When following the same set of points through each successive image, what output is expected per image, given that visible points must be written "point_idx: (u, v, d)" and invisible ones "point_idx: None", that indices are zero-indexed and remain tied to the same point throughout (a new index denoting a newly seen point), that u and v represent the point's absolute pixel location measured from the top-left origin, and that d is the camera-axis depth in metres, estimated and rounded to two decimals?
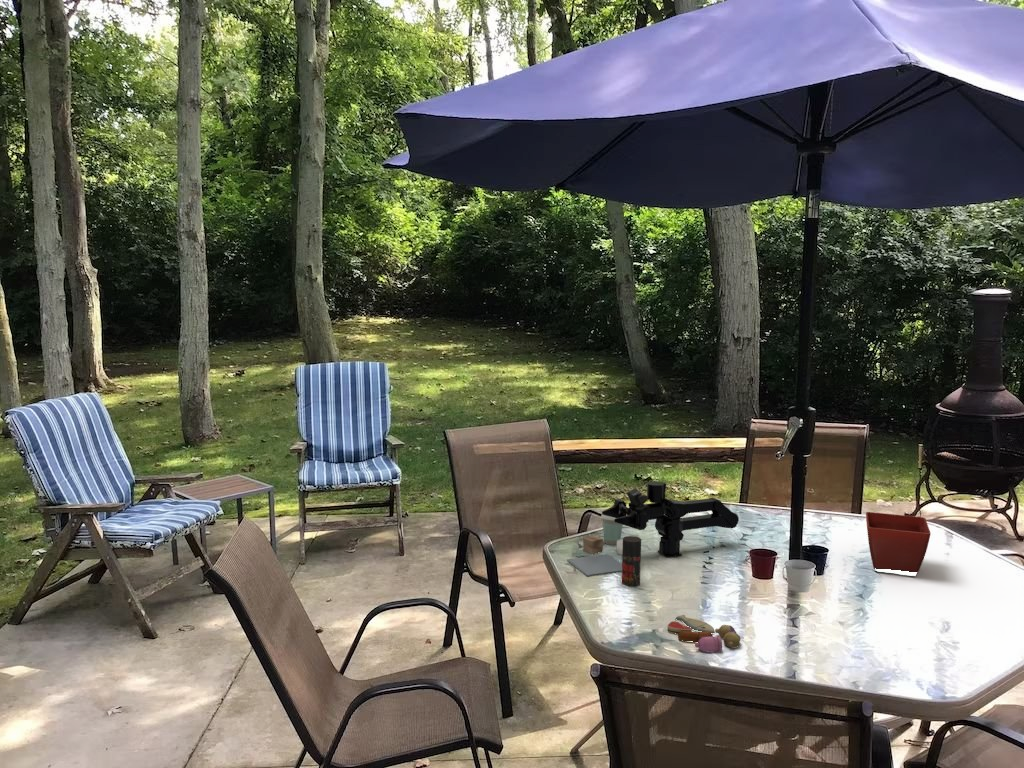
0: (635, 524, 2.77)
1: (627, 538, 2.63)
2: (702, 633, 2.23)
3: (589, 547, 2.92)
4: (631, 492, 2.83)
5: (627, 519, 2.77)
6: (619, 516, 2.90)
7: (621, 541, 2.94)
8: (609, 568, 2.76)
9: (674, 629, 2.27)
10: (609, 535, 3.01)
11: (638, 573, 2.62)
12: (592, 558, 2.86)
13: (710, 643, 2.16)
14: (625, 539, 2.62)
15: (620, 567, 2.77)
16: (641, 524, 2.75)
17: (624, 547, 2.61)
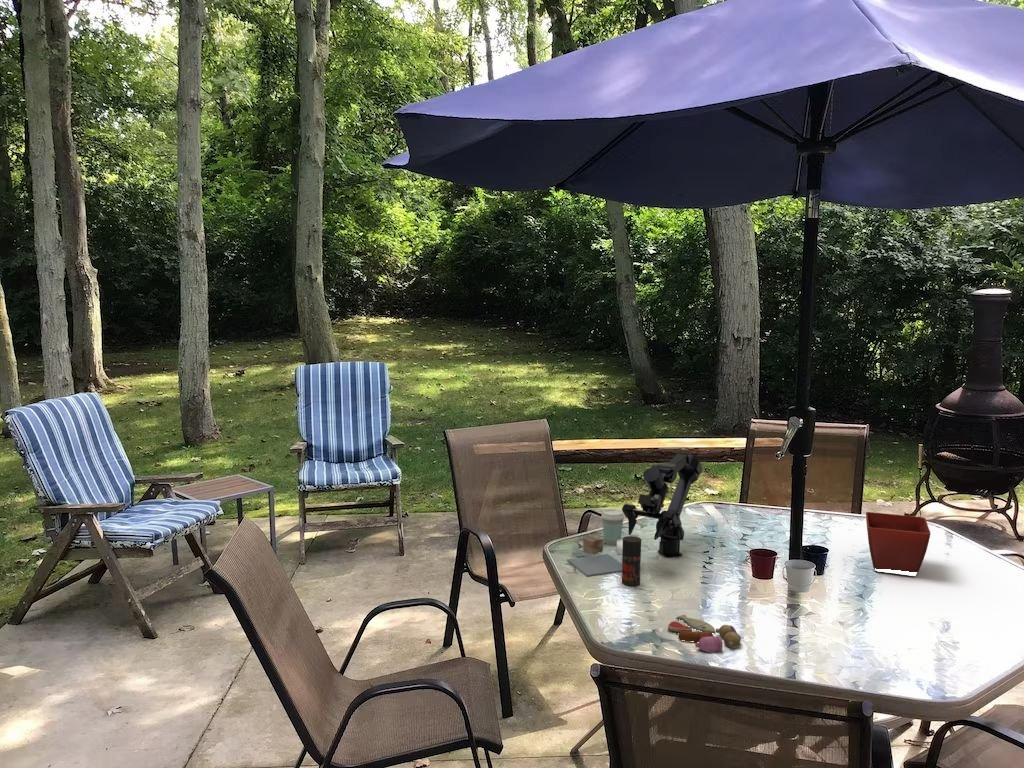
0: (669, 526, 2.70)
1: (627, 538, 2.63)
2: (702, 633, 2.23)
3: (589, 547, 2.92)
4: (643, 501, 2.69)
5: (661, 528, 2.68)
6: (635, 518, 2.78)
7: (621, 541, 2.94)
8: (609, 568, 2.76)
9: (674, 629, 2.27)
10: (609, 535, 3.01)
11: (638, 573, 2.62)
12: (592, 558, 2.86)
13: (710, 643, 2.16)
14: (625, 539, 2.62)
15: (620, 567, 2.77)
16: (675, 523, 2.69)
17: (624, 547, 2.61)
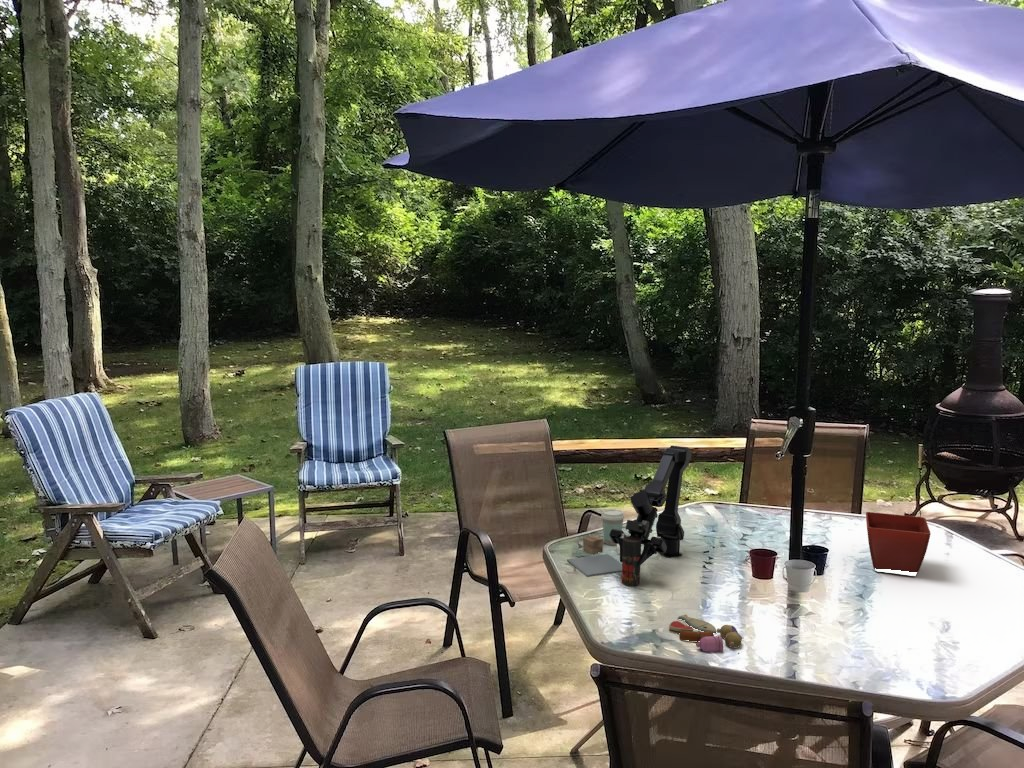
0: (653, 551, 2.63)
1: (627, 538, 2.63)
2: (703, 633, 2.23)
3: (589, 547, 2.92)
4: (631, 527, 2.62)
5: (645, 554, 2.62)
6: None
7: None
8: (609, 568, 2.76)
9: (675, 629, 2.28)
10: None
11: (638, 573, 2.62)
12: (592, 558, 2.86)
13: (711, 643, 2.16)
14: (625, 539, 2.62)
15: (620, 567, 2.77)
16: (664, 549, 2.62)
17: (624, 547, 2.61)
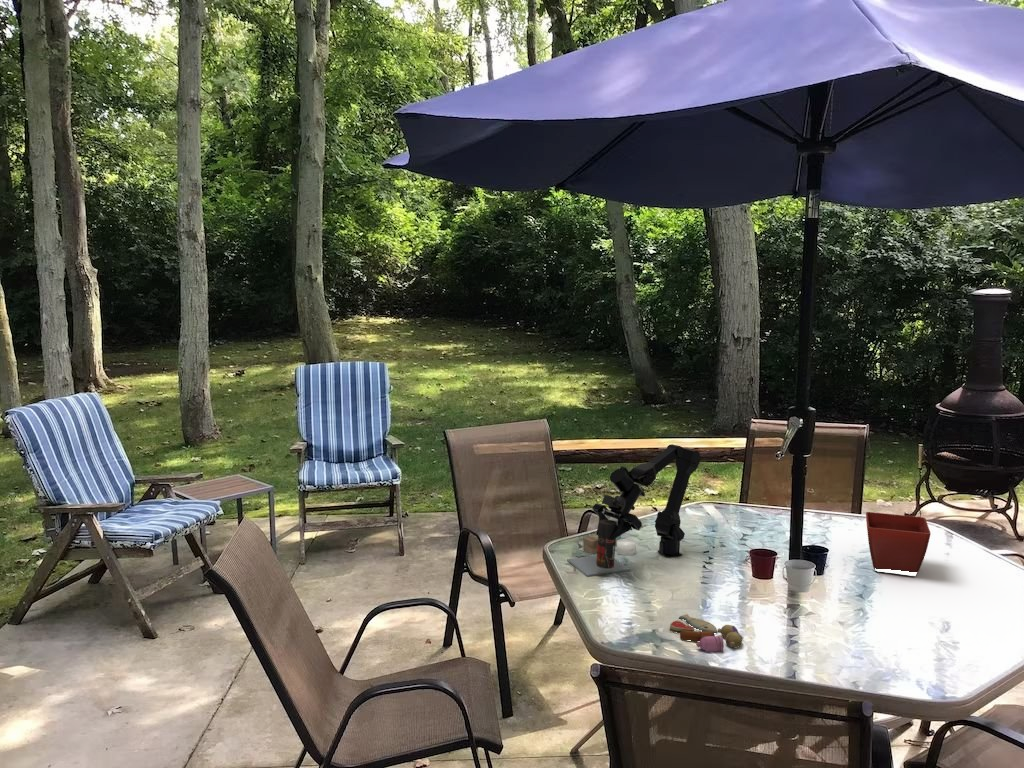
0: (628, 527, 2.68)
1: (604, 521, 2.71)
2: (704, 633, 2.23)
3: (589, 547, 2.92)
4: (606, 502, 2.69)
5: (619, 529, 2.68)
6: None
7: (621, 541, 2.94)
8: (609, 568, 2.76)
9: (676, 629, 2.28)
10: None
11: (610, 556, 2.69)
12: (592, 558, 2.86)
13: (711, 643, 2.16)
14: (601, 521, 2.71)
15: (620, 567, 2.77)
16: (637, 526, 2.66)
17: (599, 528, 2.70)
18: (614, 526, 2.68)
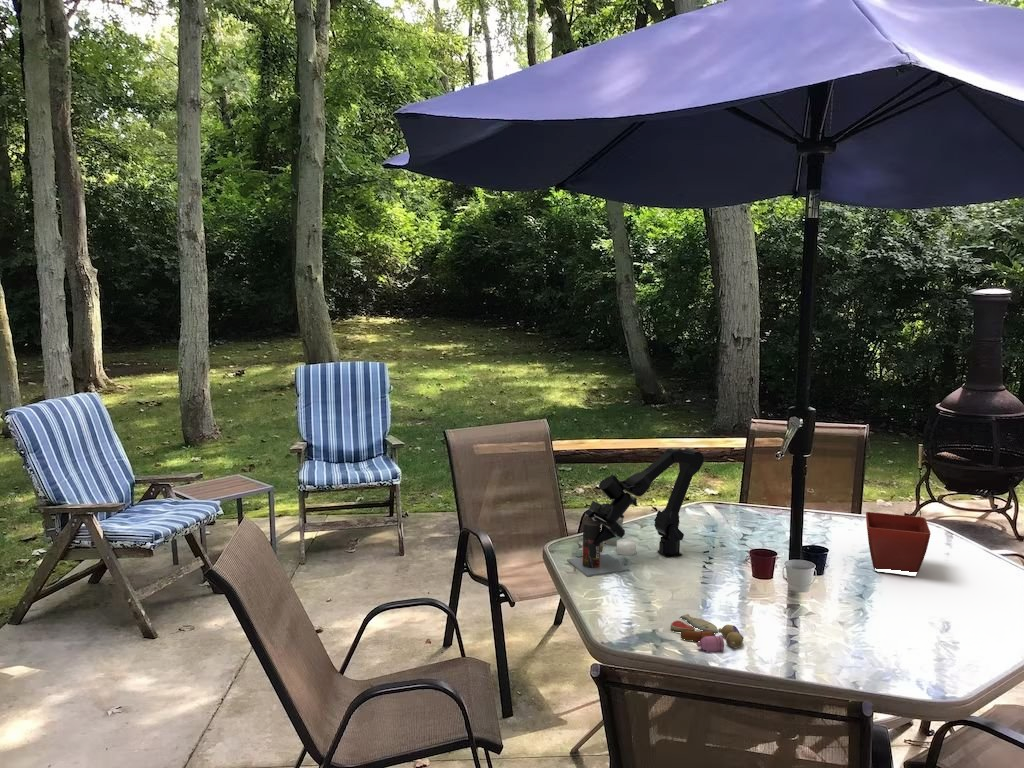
0: (612, 534, 2.74)
1: (589, 521, 2.78)
2: (705, 632, 2.23)
3: None
4: (592, 508, 2.76)
5: (603, 535, 2.75)
6: None
7: (621, 541, 2.94)
8: (609, 568, 2.76)
9: (677, 628, 2.28)
10: None
11: (594, 556, 2.76)
12: None
13: (711, 643, 2.16)
14: (585, 522, 2.78)
15: (620, 567, 2.77)
16: (619, 534, 2.71)
17: (583, 529, 2.78)
18: (596, 527, 2.75)
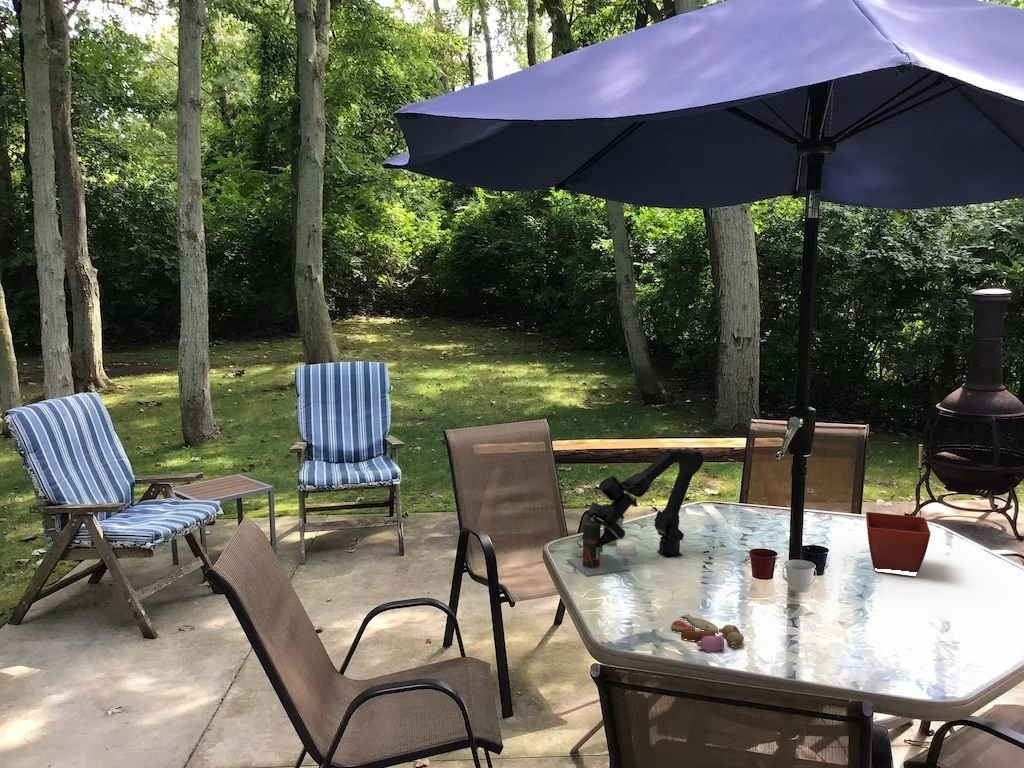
0: (615, 537, 2.73)
1: (589, 521, 2.78)
2: (705, 632, 2.23)
3: None
4: (592, 509, 2.77)
5: (605, 537, 2.73)
6: None
7: (621, 541, 2.94)
8: (609, 568, 2.76)
9: (677, 628, 2.28)
10: None
11: (594, 556, 2.76)
12: None
13: (712, 643, 2.16)
14: (586, 522, 2.78)
15: (620, 567, 2.77)
16: (619, 535, 2.71)
17: (583, 529, 2.78)
18: (596, 527, 2.75)
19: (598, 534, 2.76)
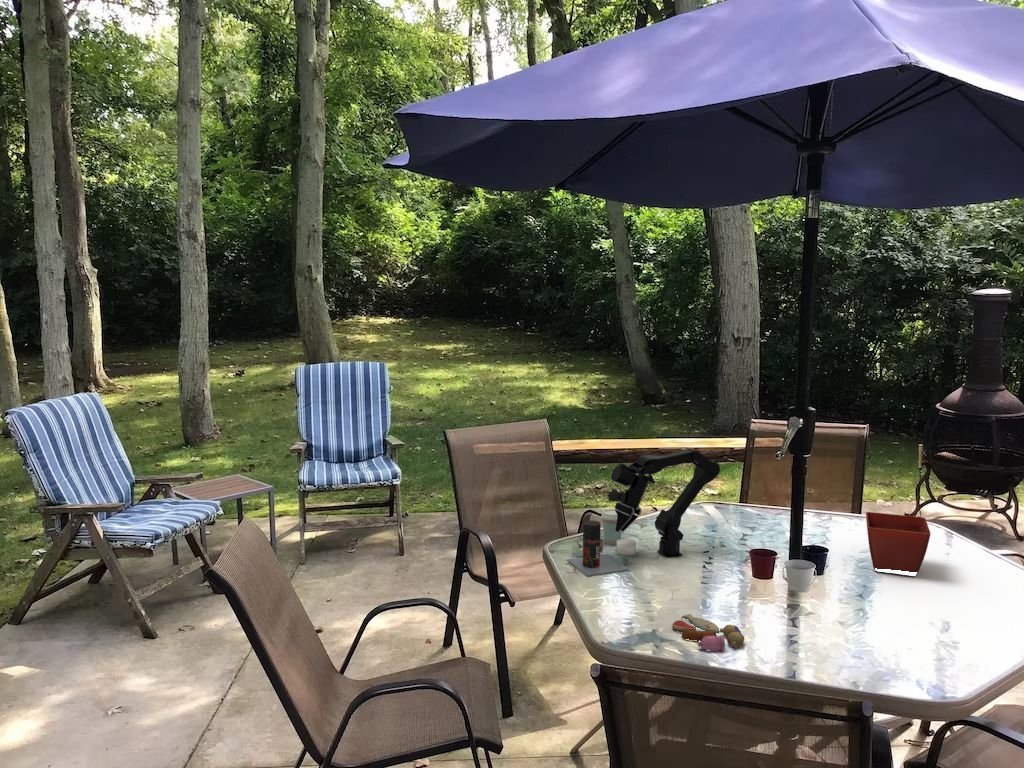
0: (625, 515, 2.77)
1: (589, 521, 2.78)
2: (706, 632, 2.23)
3: None
4: None
5: (620, 519, 2.79)
6: (637, 514, 2.89)
7: (621, 541, 2.94)
8: (609, 568, 2.76)
9: (678, 628, 2.28)
10: (609, 535, 3.01)
11: (594, 556, 2.76)
12: None
13: (712, 643, 2.17)
14: (586, 522, 2.78)
15: (620, 567, 2.77)
16: (625, 511, 2.75)
17: (583, 529, 2.78)
18: (596, 527, 2.75)
19: (598, 534, 2.76)
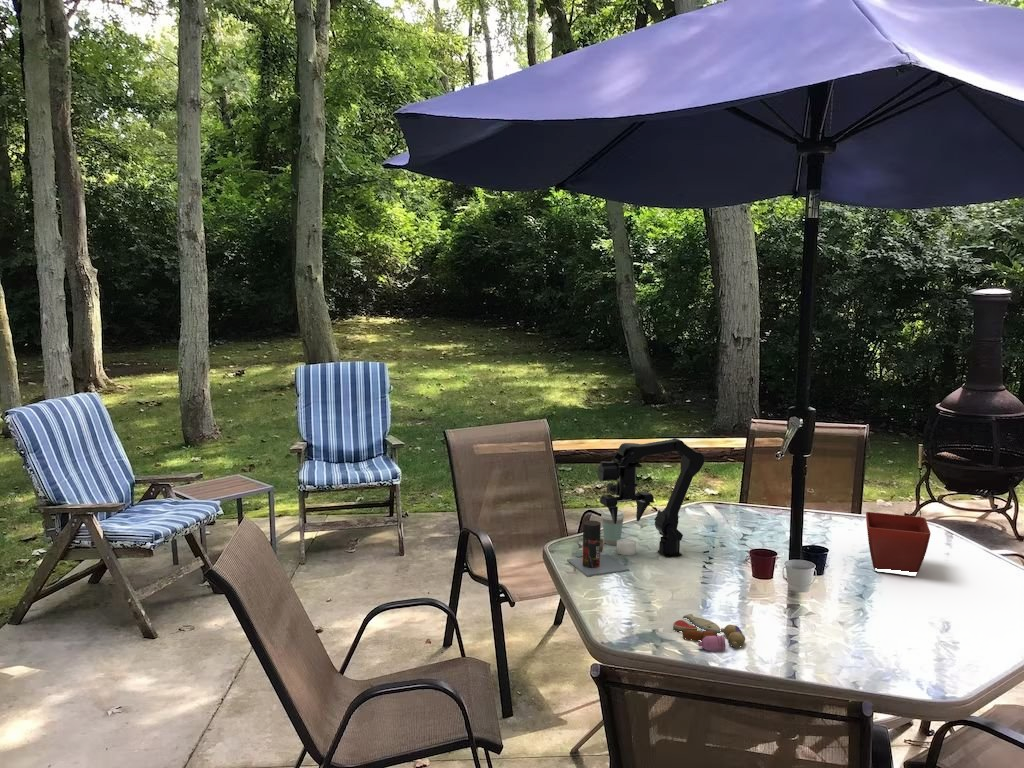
0: None
1: (589, 521, 2.78)
2: (707, 632, 2.23)
3: None
4: None
5: (611, 512, 2.84)
6: (645, 501, 2.85)
7: (621, 541, 2.94)
8: (609, 568, 2.76)
9: (679, 628, 2.28)
10: (609, 535, 3.01)
11: (594, 556, 2.76)
12: None
13: (713, 642, 2.17)
14: (586, 522, 2.78)
15: (620, 567, 2.77)
16: (604, 504, 2.81)
17: (583, 529, 2.78)
18: (596, 527, 2.75)
19: (598, 534, 2.76)
